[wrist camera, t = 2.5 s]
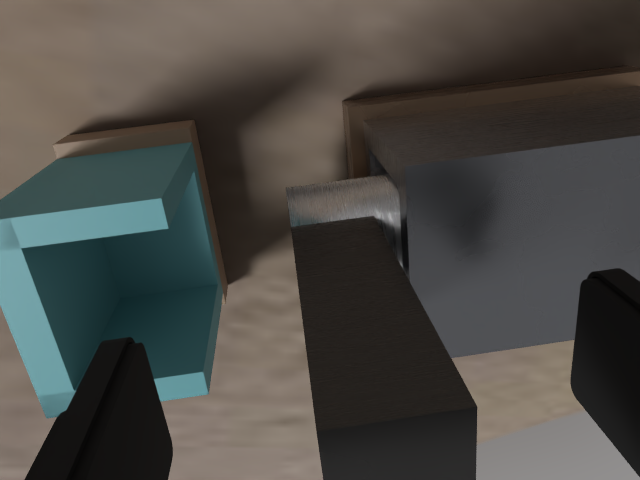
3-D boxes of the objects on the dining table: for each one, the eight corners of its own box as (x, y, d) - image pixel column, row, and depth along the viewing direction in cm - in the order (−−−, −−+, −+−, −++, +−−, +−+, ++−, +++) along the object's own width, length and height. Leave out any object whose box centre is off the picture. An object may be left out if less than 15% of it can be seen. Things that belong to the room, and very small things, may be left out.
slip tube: (613, 131, 18) (1063, 285, 8) (601, 226, 20) (970, 461, 9) (284, 174, 18) (311, 399, 7) (297, 268, 19) (335, 566, 9)
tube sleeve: (626, 65, 20) (812, 93, 13) (605, 232, 23) (750, 326, 16) (342, 101, 20) (383, 149, 13) (356, 267, 23) (397, 379, 16)
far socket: (194, 119, 19) (156, 178, 13) (227, 285, 22) (211, 407, 15) (67, 135, 19) (-42, 204, 12) (117, 301, 22) (51, 431, 15)
